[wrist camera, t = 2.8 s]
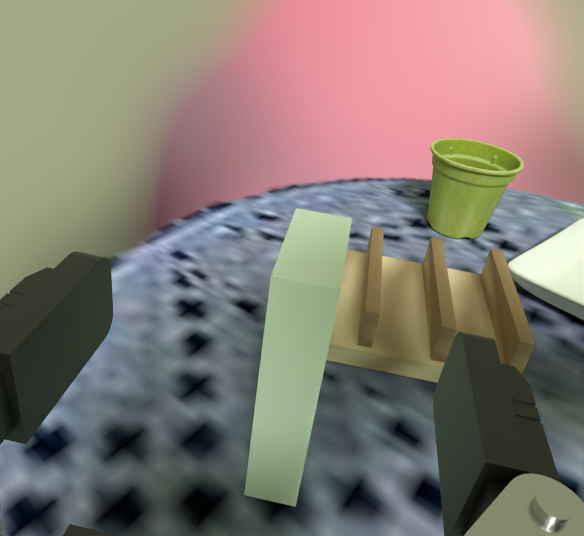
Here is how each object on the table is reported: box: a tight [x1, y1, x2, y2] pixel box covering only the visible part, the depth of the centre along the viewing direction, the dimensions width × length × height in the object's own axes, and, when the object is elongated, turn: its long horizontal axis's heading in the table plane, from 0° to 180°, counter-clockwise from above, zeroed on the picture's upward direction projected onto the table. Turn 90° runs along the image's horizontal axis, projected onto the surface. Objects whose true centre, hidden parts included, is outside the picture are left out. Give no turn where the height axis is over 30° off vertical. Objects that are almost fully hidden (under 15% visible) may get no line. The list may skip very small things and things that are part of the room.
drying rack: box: [326, 227, 536, 383], centre depth 43 cm, size 17×14×4 cm
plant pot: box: [427, 138, 524, 239], centre depth 58 cm, size 9×9×9 cm
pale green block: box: [244, 208, 352, 507], centre depth 28 cm, size 3×6×14 cm, turn 171°
